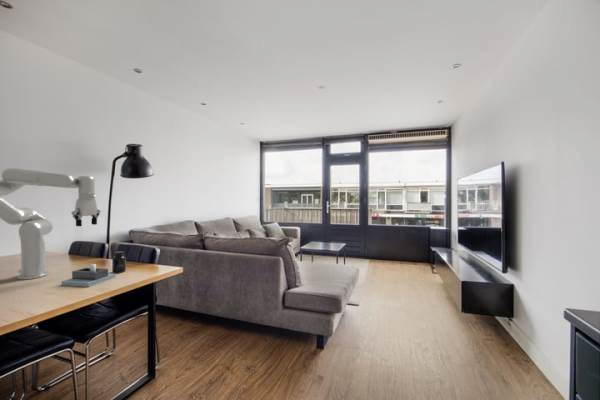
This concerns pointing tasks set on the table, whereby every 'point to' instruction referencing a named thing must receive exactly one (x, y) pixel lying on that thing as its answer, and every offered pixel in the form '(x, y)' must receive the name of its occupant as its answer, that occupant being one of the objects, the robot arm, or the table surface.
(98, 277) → the dark gray open box
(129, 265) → the table surface
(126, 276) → the table surface
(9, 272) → the table surface
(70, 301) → the table surface
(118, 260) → the supplement bottle
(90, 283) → the board
